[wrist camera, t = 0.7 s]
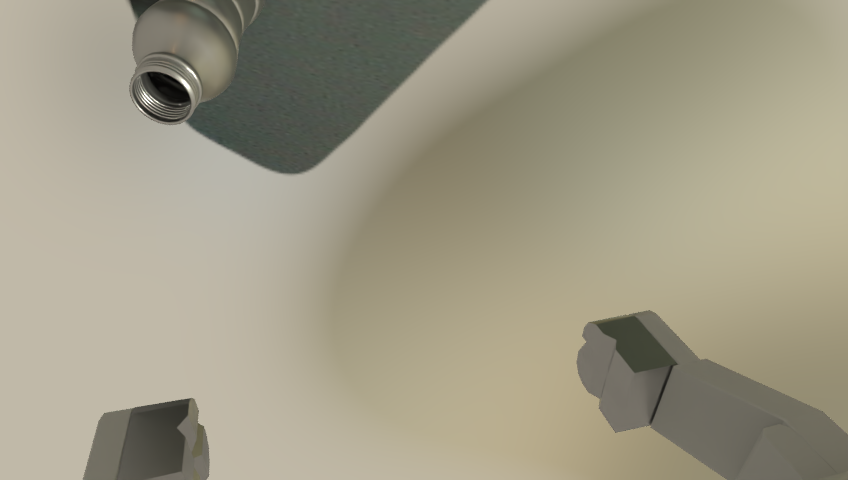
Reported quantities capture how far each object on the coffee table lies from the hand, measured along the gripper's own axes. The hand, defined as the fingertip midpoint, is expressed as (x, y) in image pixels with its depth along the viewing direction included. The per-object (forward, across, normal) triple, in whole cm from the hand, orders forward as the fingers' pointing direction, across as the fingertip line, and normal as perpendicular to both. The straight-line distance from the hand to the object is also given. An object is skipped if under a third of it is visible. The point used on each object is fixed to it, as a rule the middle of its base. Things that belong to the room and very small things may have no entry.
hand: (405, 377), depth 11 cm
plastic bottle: (+46, +4, -2) cm, 46 cm away
